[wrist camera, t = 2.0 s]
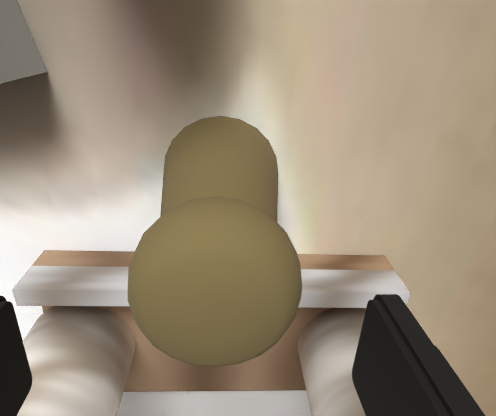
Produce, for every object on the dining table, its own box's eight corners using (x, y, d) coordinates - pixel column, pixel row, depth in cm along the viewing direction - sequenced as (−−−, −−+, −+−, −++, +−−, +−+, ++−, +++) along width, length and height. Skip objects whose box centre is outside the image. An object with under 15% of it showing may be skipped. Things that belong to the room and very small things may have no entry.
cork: (301, 161, 19) (376, 300, 10) (233, 241, 21) (238, 424, 12) (206, 90, 18) (178, 171, 8) (141, 185, 20) (54, 345, 10)
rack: (402, 256, 22) (528, 421, 13) (370, 371, 27) (446, 557, 17) (24, 250, 21) (-142, 431, 12) (55, 373, 25) (-47, 577, 16)
